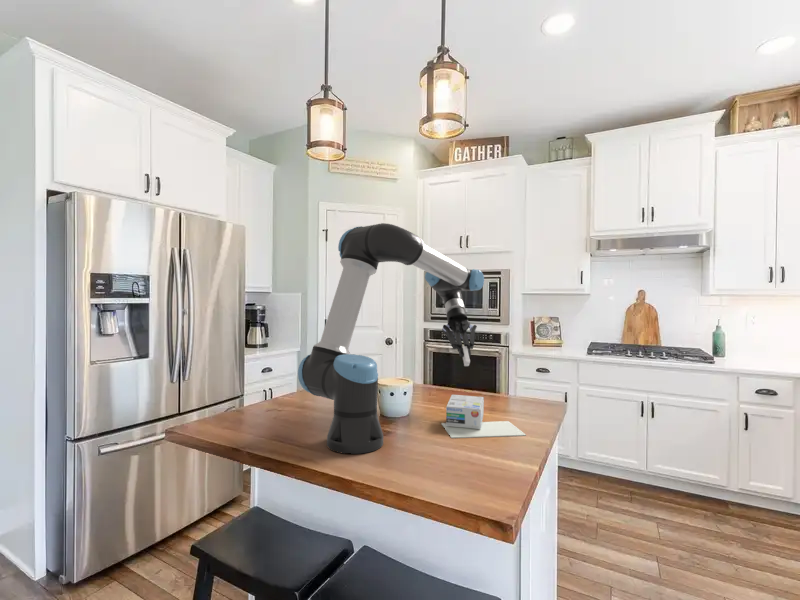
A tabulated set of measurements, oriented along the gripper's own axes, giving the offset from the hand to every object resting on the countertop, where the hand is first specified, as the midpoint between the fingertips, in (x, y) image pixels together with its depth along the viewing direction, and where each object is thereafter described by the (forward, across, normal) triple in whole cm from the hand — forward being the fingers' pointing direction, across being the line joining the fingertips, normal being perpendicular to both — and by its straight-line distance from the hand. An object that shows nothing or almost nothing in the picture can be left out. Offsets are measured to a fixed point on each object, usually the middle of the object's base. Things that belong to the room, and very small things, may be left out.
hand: (467, 363), depth 142 cm
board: (+24, 0, 0) cm, 24 cm away
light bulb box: (+14, +2, -3) cm, 14 cm away
